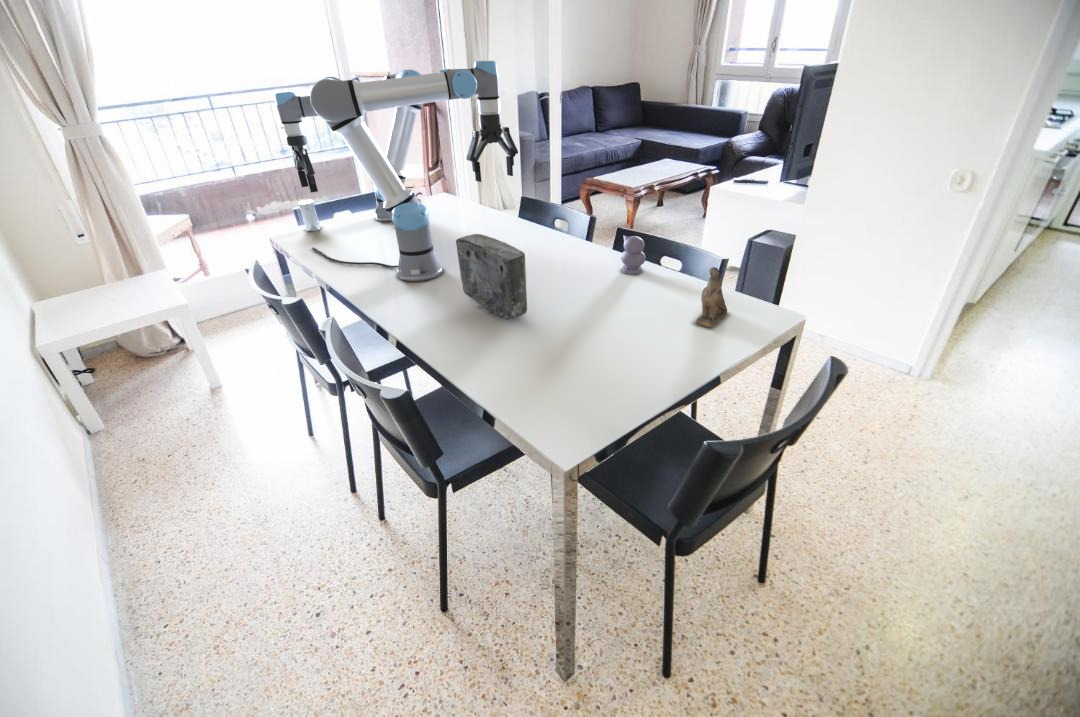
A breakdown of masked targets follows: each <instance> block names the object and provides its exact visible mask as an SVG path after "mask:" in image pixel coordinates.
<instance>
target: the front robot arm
mask: <svg viewBox="0 0 1080 717" xmlns="http://www.w3.org/2000/svg"><path fill="white" fill-rule="evenodd" d="M499 77H500V76H499V71H498V63H497V62H496V61H495V60H477V61H476V60H475V62H474V64H473V67H472V68H471V67H470V68H446V69H441V70H438V72H433V73H425V74H421V75H416V76H409V77H401V78H393V79H385V80H383V79H379V80H378V79H377V80H372V81H363V82H357V81H356V80H355V79H344V80H342V79H340V78H338V77H334V76H326V77H323V78H320V79H319V80H317V81H316V82H315V83H313V85H312V87H311V89H310V92H309V94H310V101H311V105H312V107H313V109H314V110H315V112H316V113H317V114H318V115H319V118H321V119H323V120H324V121H325V122H326V124H327V125H328V127H329V128H330V130H331V131H332V132H333V133H334V134H337V135H339V136H341V138H342V139H343V140H344V142H345V144H346V145H347V147H348V148H349V150H350V151H351V152H352V154H353V155H354V157H355V159H356V160H357V161H358V163H359V165H360V166H361V168H362V169H363V170H364V172H365V173H366V175H367V176H368V178H369V180H370V182H373V183H372V185H373V184H374V185H375V187H376V188H377V190H378V191H379V193H380V194H381V196H382V197H383V199H384V200H385V203H384V208H385V210H386V211H387V213H388V214H389V216H390V217H391V218H392V220H393V221H392V222H393V225H394V230H395V231H394V232H395V236H396V241H397V247H398V251H399V259H398V265H389V264H385V263H381V262H373V261H368V262H366V261H365V262H360V261H359V262H357V261H345V260H339V259H335V258H332V257H330V256H328V255H326V254H325V253H324V252H322V251H321V250H319V249H317V248H315V247H314V246H313V247H311V250H313V251H315V252H317V253H319V254H320V255H322V256H323V257H324V258H326V259H328V260H330V261H333V262H335V263H339V264H347V265H375V266H382V267H385V268H391V269H396V268H397V276H398V278H399V279H400V280H402V281H406V282H413V283H414V282H425V281H429V280H432V279H435V278H438V277H439V276H440V275H441V274H442V273H443V268H442V264H441V263H440V260H439V259H438V256H437V254H436V252H435V250H434V243H433V236H432V230H431V224H430V213H429V212H428V208H427V207H426V206H425V205H424V204H422V202H421V201H419V198H418V196H417V197H416V196H415V195H416V194H415V193H414V191H413V189H410V188H408V187H406V186H405V184H404V185H403V183H402V181H401V180H400V178H399V177H398V175H397V173H396V172H395V170H394V169H393V167H392V166H391V164H390V162H389V161H388V159H387V158H386V153H384V151H383V150H382V148H381V147H380V145H379V143H378V142H377V140H376V138H375V137H374V135H373V133H372V132H371V131H370V129H369V127H368V126H367V124H366V123H365V115H366V113H367V112H372V111H380V110H388V109H394V108H396V107H402V106H409V105H416V104H422V105H424V104H429V103H435V102H442V101H443V102H444V101H449V100H451V101H452V100H459V99H462V100H467V99H470V98H472V97H473V96H474V95H476V99H477V109H478V113H479V115H478V122H479V123H478V124H479V126H480V127H479V128H480V129H479V130H472V132H471V141H470V145H469V147H468V151H467V154H466V161H469V162H471V167H472V172H473V173H474V177H475V178H474V179H475V182H479V183H481V182H482V173H481V162H480V161H479V159H480V158H481V155H482V154H483V152H484V150H485V149H486V147H487V145H488V144H493V143H494V144H496V143H497V144H499V146H500V148H502V150H503V151H504V152H505V154H506V156H505V159H506V161H505V162H506V174H507V176H510V177H513V176H514V170H513V169H514V168H513V166H514V165H515V157H516V155H519V150H518V148H517V146H516V144H515V142H514V139H513V137H512V136H511V132H510V127H509V126H503V127H502V114H501V113H500V112H501V111H502V110H501V99H500V82H499ZM502 134H503V137H504V138H503V137H502ZM505 140H506V142H505ZM417 198H418V199H417Z"/></svg>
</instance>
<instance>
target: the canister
mask: <svg viewBox="0 0 1080 717" xmlns="http://www.w3.org/2000/svg"><path fill="white" fill-rule="evenodd" d="M298 207H299V211H300V214H301V218H302V221H303V225H304V229H305V231H306V232H316V231H319V230H321V225H320V220H319V217H318V213H317V210H316V206H315V202H314V200H312V199H307V200H301V201H299V202H298Z"/></svg>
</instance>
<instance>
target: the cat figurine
mask: <svg viewBox="0 0 1080 717" xmlns="http://www.w3.org/2000/svg"><path fill="white" fill-rule="evenodd" d="M623 249H624V250H623V252H622V253H621V255H620V260H621V262H622V264H623V265H622V273H624V274H628V275H637V274H640V273H642V265H644V264H645V262H646V254H645V253H644V252H643V251H644V249H645V242H644V239H642V238H641V236H637V235H631V236H627V235H624V234H623Z"/></svg>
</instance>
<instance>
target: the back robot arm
mask: <svg viewBox="0 0 1080 717" xmlns="http://www.w3.org/2000/svg"><path fill="white" fill-rule="evenodd" d="M416 75H422V74H421V73H420V72H418V71H417V70H414V69H402V70H400V71H398V72H395V73H393V74H389V75H385V76H384V78H383V79H382V80H385V79H393V78H401V77H409V76H416ZM273 95H274V100H275V104H276V109H277V113H278V116H279V119H280V123H281V128H280V129H282V130H283V133H284V135H286V136H285V140H286V141H285V142H286V144H287V146H288V147H290V148H291V152H292V156H293V164H294V168H295V169H296V171H297V174H298V175H297V176H298V178H299V182H300V185H301V186H300V187H301V188H307V187H308V188H309V191H310V193H311V194H312V193H318V192H319V190H318V186H317V182H316V178H315V174H316V173H315V172H316V171H315V170H314V167H313V164H312V161H311V159H310V156H309V154H308V150H307V148H304V146H307V145H308V139H307V136H306V135H305V132H306V131H305V128H304V125H303V124H304V123H303V120H302V118H317V117H319V118H320V116H319V115H318V114H317V113H316V112H315V110H314V109H313V107H312V105H311V101H310V93H308V94H307V95H302V96H301V95H296V93H295V91H294V90H281V91H279V90H278V91H276V92H275V93H274V94H273ZM422 109H423V104H416V105H409V106H402V107H395V109H394V113H393V118H392V123H391V128H390V133H389V137H388V141H387V147H386V151H385V156H386V158H387V159H388V161H389V162H390V164H391V166H392V167H393V169H394V170H395V172H396V173H397V175H398V177H399V178H400V180H401V181H402V183H403V185H404V186H405V182H406V178H407V174H406V173H405V166H406V163H407V162H406V161H407V157H408V153H409V149H410V144H411V139H412V136H413V132H414V128H415V122H416V117H417V114H418V113H420V112H421V111H422ZM371 182H372V181H371ZM372 187H373V192H374V196H375V197H374V198H375V203H376V204H375V210H374V212H375V214H374V217H375V220H376V221H378V222H386V223H387V222H393V220H392V218H391V217H390V216H389V214H388V213H387V211H386V210H385V208H384V203H385V200H384V199H383V197H382V196H381V194H380V193H379V191H378V190H377V188H376V187H375V185H374V184H373V182H372ZM419 195H420V196H422V195H423V192H417V193H416V194H415V196H416V197H417V199H418V200H419V198H418V196H419Z"/></svg>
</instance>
